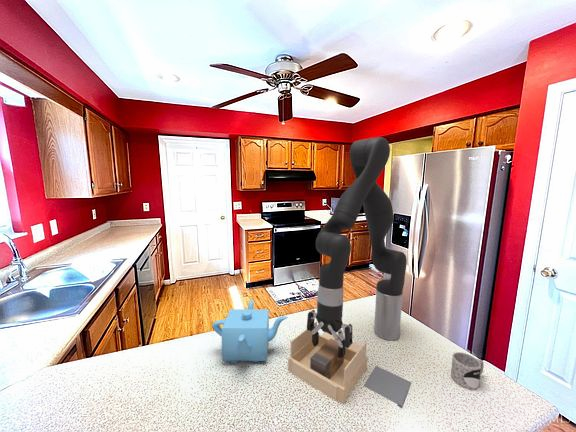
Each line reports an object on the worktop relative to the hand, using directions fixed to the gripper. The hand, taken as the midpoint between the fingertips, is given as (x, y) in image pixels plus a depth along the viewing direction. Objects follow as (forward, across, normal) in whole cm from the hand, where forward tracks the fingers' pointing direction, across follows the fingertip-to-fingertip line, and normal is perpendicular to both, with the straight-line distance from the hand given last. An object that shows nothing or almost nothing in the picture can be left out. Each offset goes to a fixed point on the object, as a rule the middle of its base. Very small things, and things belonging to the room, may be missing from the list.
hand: (327, 350), depth 72 cm
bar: (+6, 0, 0) cm, 6 cm away
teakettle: (+7, +24, +9) cm, 27 cm away
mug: (+6, -34, -24) cm, 42 cm away
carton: (+7, 0, -2) cm, 7 cm away
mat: (+7, -16, -6) cm, 19 cm away
